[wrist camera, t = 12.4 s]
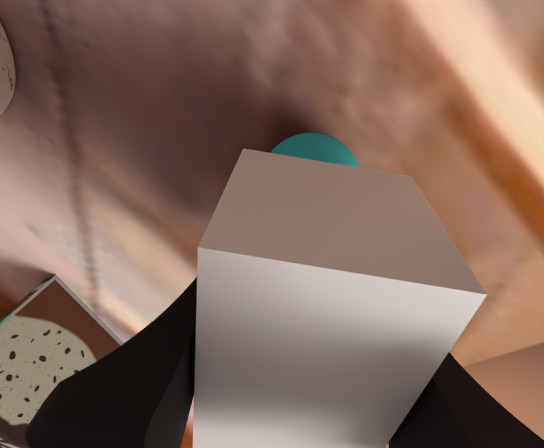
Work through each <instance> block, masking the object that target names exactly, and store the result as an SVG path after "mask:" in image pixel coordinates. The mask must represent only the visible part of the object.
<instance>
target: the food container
mask: <svg viewBox="0 0 544 448" xmlns="http://www.w3.org/2000/svg"><path fill="white" fill-rule="evenodd" d="M123 344H124V343H123V342H122V341H121V340H120V339H119V338H118V337H117V336H116V335H115V334H114V333H113V332H112V331H111V330H110V329H109V328H108V327H107V326H106V325H105V324H104V323H103V322H102V321H101V320H100V319H99V318H98V317H97V316H96V315H95V314H94V313H93V312H92V311H91V310H90V309H89V308H88V307H87V306H86V305H85V304H84V303H83V302H82V301H81V300H80V299H79V298H78V297H77V296H76V295H75V294H74V293H73V291H72V290H71V289H70V288H69V287H68V286H67V285H66V284H65V283H64V282H63V281H62V280H61V279H60V278H59V277H58V276H57V275H54V276H52V277H49V278H47V279H45V280H44V281H43V282H42V283H41V284H40V285H38V286H37V287H36V288H35V289H34V290H33V291H31V292H30V293H29V294H28V295H27V296H26V297H24V298H23V299H22V300H21V301H20V302H19V303H17V304H16V305H15V306H14V307H13V308H12V309H10V310H9V311H8V312H7V313H6V314H5V315H3V316H2V317H1V318H0V448H30V447H29V445H28V444H27V442H26V438H25V435H24V433H25V430H26V428H27V426H28V425H29V423H30V422H31V420H32V419H33V417H34V416H35V414H36V412H37V411H38V409H39V408H40V406H41V405H42V403H43V402H44V401H45V399H46V398H47V397H48V396H49V394H50V393H51V392H52V391H53V389H54V388H55V387H56V386H57V385H58V383H59V382H60V381H62V380H64V379H66V378H68V377H70V376H71V375H73V374H75V373H77V372H79V371H80V370H82V369H84V368H86V367H88V366H89V365H91V364H93V363H95V362H96V361H98V360H99V359H101V358H103V357H104V356H106V355H107V354H109V353H110V352H112V351H113V350H115V349H116V348H118V347H120V346H121V345H123Z"/></svg>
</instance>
